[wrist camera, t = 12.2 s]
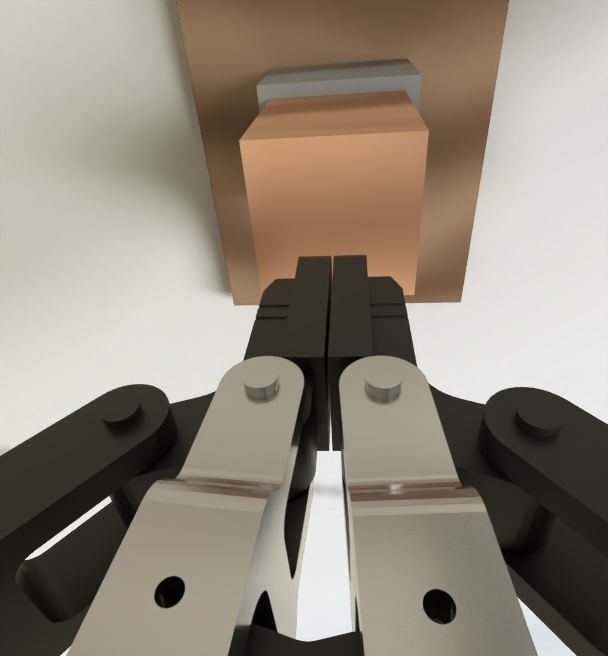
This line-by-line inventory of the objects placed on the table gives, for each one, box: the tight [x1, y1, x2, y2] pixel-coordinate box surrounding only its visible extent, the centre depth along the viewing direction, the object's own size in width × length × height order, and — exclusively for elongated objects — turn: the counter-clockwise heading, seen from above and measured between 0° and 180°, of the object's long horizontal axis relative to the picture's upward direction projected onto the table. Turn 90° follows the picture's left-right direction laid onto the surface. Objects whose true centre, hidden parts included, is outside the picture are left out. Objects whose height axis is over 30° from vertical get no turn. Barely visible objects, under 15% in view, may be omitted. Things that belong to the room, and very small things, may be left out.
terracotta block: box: [239, 91, 429, 295], centre depth 16 cm, size 5×5×6 cm
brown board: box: [176, 0, 509, 305], centre depth 21 cm, size 20×14×6 cm
